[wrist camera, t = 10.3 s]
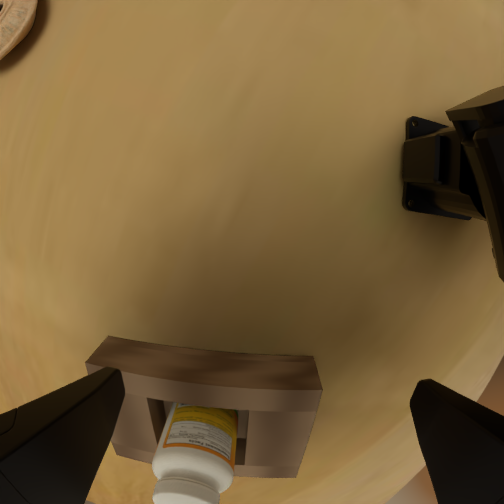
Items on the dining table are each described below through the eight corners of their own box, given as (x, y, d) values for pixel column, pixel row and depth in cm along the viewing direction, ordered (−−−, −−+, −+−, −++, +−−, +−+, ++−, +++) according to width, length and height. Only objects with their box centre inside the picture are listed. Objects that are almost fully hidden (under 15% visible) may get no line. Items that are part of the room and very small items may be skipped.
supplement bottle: (212, 437, 22) (197, 527, 13) (161, 406, 21) (127, 497, 12) (252, 409, 21) (249, 511, 12) (198, 373, 20) (167, 479, 11)
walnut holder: (313, 356, 21) (322, 389, 17) (292, 445, 23) (295, 477, 19) (108, 336, 21) (85, 362, 17) (129, 427, 23) (116, 454, 19)
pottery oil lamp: (79, -43, 12) (54, -61, 7) (45, 59, 18) (12, 66, 13) (13, -33, 9) (-19, -41, 3) (-14, 63, 15) (-52, 74, 10)
